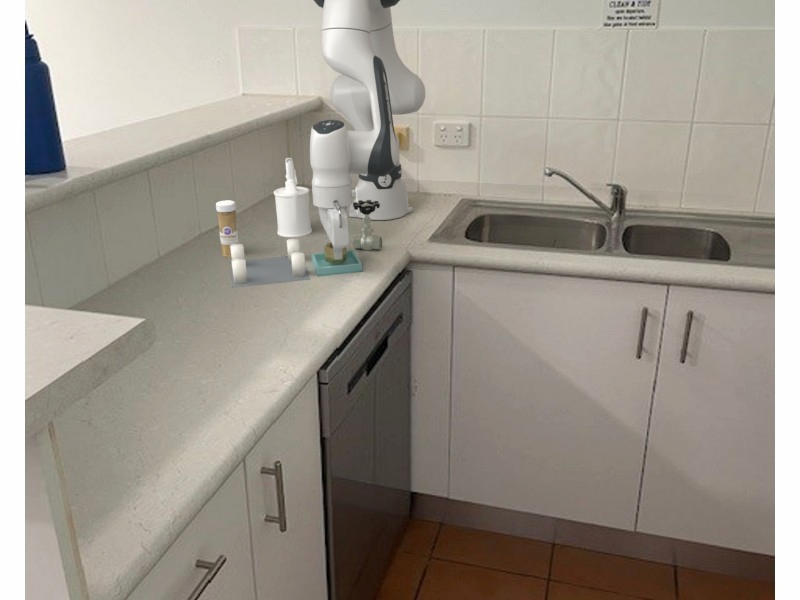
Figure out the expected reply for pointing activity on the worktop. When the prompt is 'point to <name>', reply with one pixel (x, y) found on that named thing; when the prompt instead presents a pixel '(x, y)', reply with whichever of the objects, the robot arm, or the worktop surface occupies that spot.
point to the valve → (367, 227)
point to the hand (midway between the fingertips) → (335, 254)
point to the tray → (336, 264)
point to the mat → (268, 271)
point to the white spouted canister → (292, 206)
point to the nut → (330, 256)
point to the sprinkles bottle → (227, 225)
